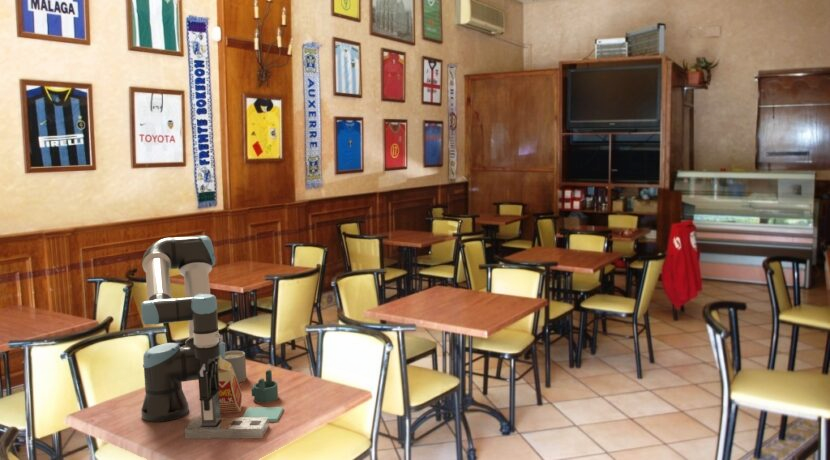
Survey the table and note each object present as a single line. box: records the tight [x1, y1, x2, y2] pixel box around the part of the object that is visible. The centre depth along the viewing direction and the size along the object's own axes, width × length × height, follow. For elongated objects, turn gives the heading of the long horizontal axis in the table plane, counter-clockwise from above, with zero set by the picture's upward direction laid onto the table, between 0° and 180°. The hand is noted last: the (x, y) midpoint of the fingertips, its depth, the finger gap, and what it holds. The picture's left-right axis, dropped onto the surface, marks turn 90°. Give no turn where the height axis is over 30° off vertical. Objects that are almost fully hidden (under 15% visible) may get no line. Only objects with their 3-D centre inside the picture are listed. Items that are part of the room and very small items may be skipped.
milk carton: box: [217, 355, 243, 414], centre depth 235 cm, size 9×9×20 cm
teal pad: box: [241, 406, 285, 423], centre depth 232 cm, size 12×10×1 cm
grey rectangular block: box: [199, 390, 221, 427], centre depth 219 cm, size 4×4×13 cm
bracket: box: [250, 369, 279, 404], centre depth 247 cm, size 9×9×9 cm
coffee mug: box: [225, 350, 247, 384], centre depth 270 cm, size 13×10×10 cm
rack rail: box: [183, 417, 270, 440], centre depth 219 cm, size 24×9×3 cm, turn 89°
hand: (211, 416), depth 219 cm, fingers closed on grey rectangular block, 4 cm apart
